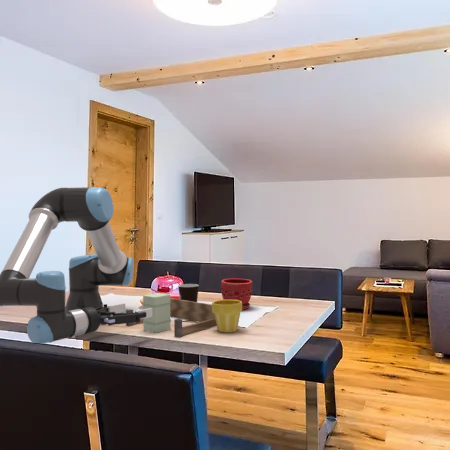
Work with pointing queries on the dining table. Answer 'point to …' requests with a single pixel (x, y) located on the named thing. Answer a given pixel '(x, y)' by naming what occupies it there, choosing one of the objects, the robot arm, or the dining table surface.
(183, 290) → the coffee mug
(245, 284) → the plant pot
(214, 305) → the plant pot
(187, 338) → the dining table surface
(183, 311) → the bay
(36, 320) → the robot arm
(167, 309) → the pale green box
